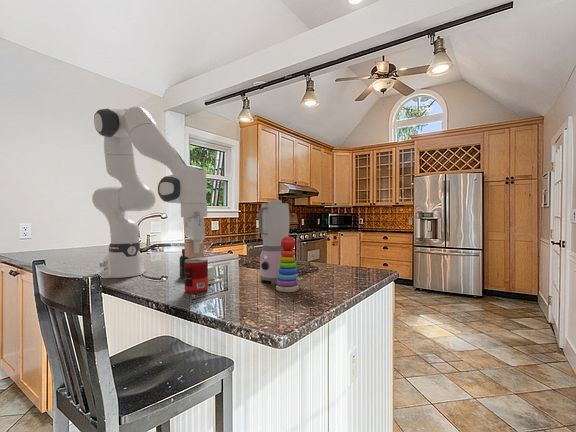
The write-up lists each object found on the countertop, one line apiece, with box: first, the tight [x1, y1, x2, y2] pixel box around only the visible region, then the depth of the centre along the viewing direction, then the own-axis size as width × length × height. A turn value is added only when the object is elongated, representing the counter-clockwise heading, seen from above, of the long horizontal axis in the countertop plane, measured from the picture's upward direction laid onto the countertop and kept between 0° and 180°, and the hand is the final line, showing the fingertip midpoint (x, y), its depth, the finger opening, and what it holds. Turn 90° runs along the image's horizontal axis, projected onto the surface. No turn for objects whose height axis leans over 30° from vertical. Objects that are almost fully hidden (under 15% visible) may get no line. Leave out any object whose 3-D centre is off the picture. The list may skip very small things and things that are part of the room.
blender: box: [257, 199, 290, 285], centre depth 123 cm, size 16×12×32 cm
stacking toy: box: [275, 235, 300, 293], centre depth 109 cm, size 8×8×19 cm
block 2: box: [208, 265, 216, 281], centre depth 123 cm, size 5×5×5 cm
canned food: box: [184, 257, 209, 294], centre depth 110 cm, size 8×8×11 cm
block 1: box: [184, 241, 204, 258], centre depth 109 cm, size 5×5×5 cm
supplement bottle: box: [178, 248, 197, 279], centre depth 133 cm, size 7×7×12 cm
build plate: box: [208, 278, 222, 286], centre depth 123 cm, size 9×8×1 cm
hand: (194, 251), depth 109 cm, fingers closed on block 1, 5 cm apart
